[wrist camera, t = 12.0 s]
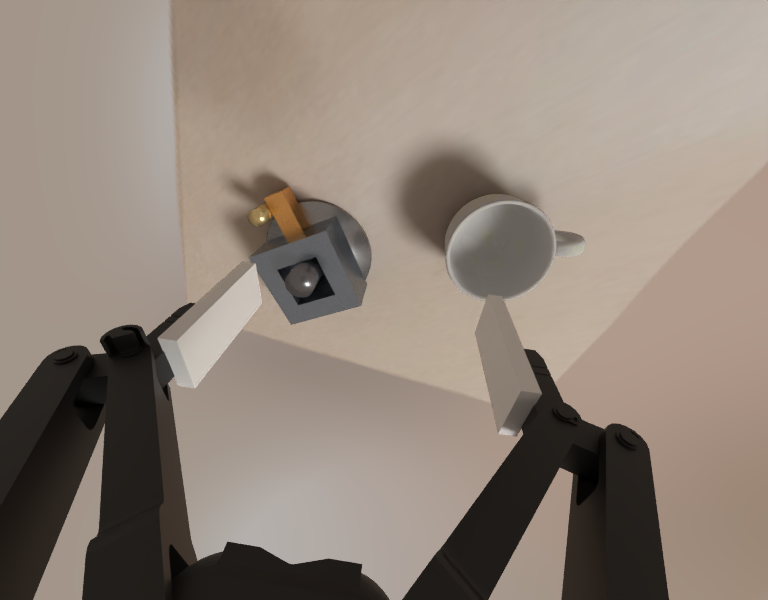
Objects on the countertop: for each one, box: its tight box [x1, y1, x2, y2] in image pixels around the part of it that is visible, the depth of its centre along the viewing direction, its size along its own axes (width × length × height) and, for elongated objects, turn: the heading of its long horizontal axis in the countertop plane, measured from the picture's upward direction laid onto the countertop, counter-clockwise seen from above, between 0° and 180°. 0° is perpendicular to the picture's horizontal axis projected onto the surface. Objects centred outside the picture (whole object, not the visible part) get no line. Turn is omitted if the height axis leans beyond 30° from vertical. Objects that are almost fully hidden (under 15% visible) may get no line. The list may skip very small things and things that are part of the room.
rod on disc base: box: [266, 201, 371, 298], centre depth 37 cm, size 14×14×9 cm
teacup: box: [445, 194, 585, 301], centre depth 34 cm, size 14×11×8 cm
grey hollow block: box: [249, 186, 367, 325], centre depth 37 cm, size 15×10×6 cm, turn 20°
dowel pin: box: [248, 202, 274, 226], centre depth 35 cm, size 2×2×5 cm
